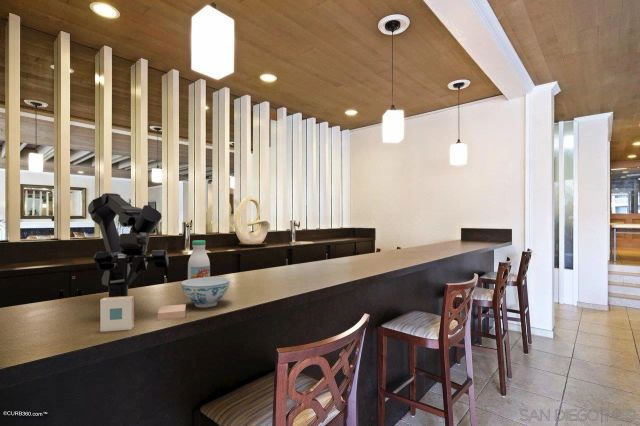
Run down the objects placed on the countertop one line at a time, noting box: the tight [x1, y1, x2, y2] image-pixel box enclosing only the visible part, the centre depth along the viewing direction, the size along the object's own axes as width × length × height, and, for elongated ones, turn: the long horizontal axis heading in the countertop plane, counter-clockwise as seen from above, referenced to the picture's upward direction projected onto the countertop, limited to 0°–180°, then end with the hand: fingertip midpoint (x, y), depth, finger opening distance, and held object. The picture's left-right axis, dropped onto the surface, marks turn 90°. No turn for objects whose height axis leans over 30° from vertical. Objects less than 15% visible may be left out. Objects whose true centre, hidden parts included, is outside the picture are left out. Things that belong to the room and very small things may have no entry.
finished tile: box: [157, 303, 187, 321], centre depth 100 cm, size 8×7×2 cm
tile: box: [99, 295, 135, 333], centre depth 88 cm, size 2×7×8 cm, turn 103°
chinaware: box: [180, 276, 231, 308], centre depth 111 cm, size 15×15×8 cm
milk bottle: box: [187, 239, 211, 280], centre depth 126 cm, size 8×8×20 cm
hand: (126, 284), depth 94 cm, fingers closed
